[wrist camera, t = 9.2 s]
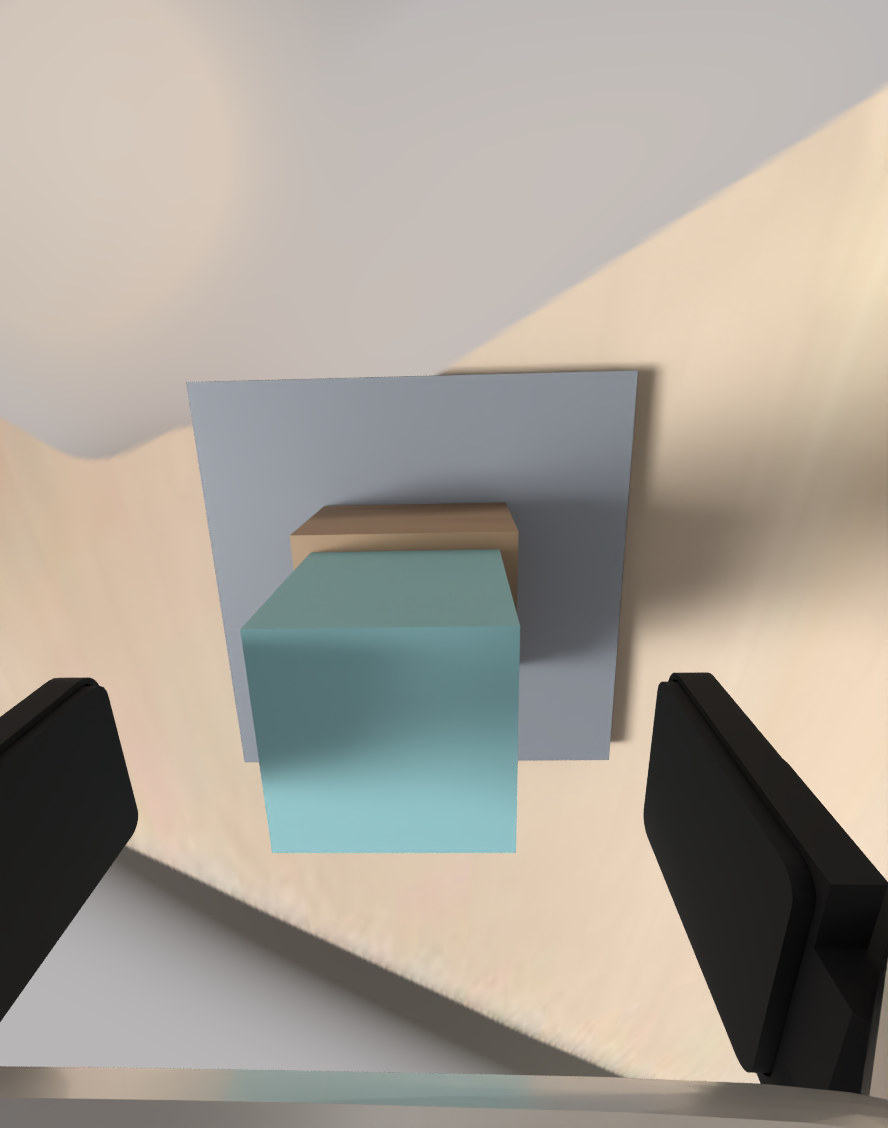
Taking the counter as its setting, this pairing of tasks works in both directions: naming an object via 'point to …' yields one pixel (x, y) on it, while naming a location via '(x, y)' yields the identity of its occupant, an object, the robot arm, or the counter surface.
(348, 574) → the teal block
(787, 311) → the counter surface
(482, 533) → the walnut base
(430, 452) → the plate
